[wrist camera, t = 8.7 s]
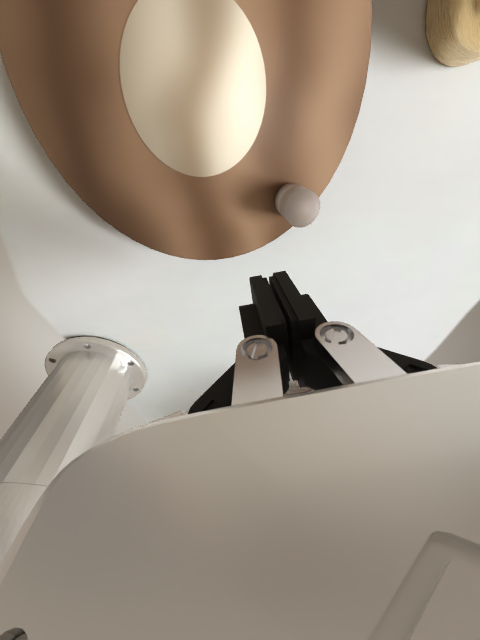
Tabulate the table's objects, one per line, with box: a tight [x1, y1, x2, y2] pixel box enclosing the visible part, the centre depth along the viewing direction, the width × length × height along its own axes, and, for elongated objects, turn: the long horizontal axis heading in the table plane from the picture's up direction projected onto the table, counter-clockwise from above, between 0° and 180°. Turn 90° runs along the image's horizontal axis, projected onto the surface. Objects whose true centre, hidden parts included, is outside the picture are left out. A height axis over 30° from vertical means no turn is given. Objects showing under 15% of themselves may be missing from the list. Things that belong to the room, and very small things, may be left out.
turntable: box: [0, 0, 372, 260], centre depth 14 cm, size 22×22×6 cm
